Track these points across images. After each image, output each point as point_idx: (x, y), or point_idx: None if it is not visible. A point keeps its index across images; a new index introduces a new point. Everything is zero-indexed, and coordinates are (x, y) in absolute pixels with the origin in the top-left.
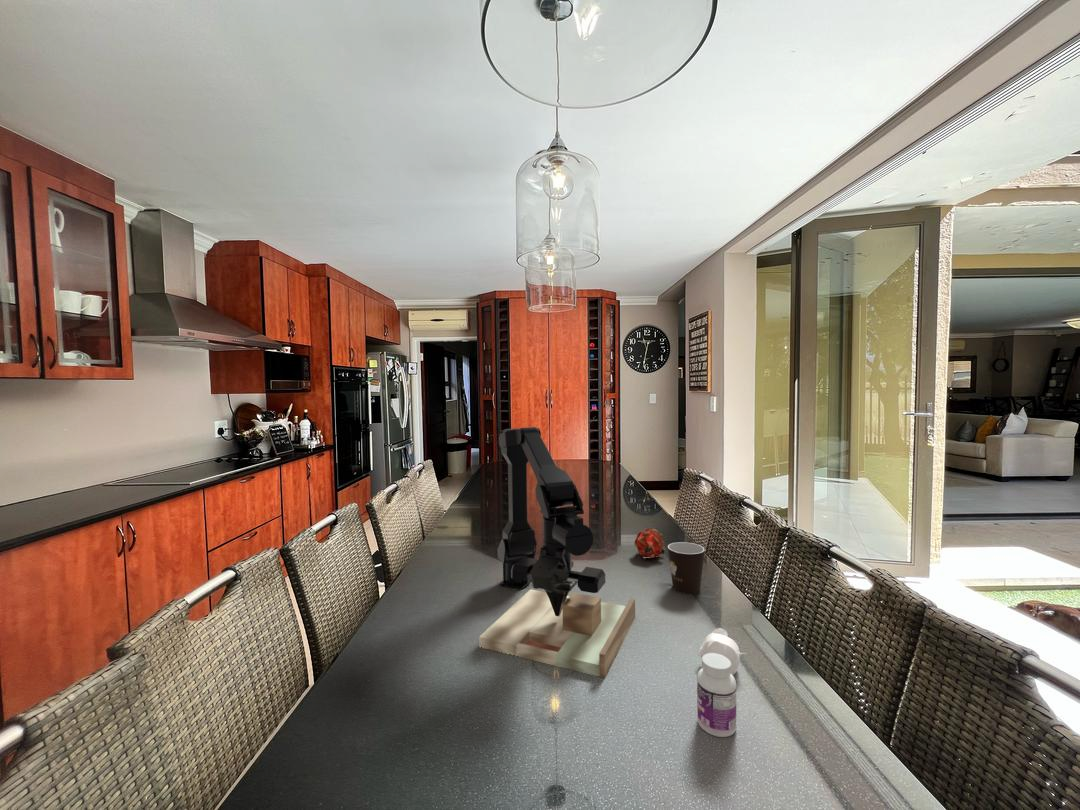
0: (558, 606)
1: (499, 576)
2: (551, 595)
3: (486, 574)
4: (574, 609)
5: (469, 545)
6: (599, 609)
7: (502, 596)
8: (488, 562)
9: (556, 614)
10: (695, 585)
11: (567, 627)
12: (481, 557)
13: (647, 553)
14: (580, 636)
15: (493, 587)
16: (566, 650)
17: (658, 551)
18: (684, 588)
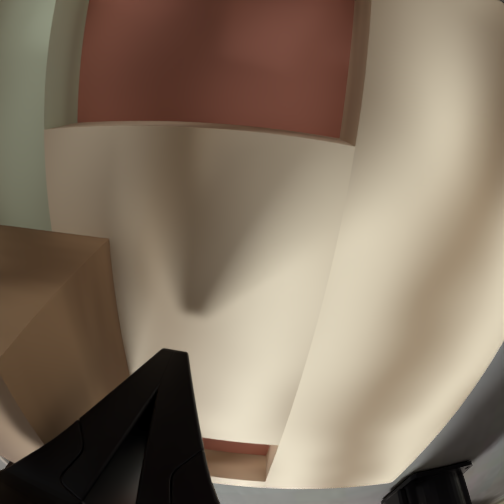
0: (126, 400)
1: (464, 478)
2: (162, 500)
3: (490, 469)
4: None
5: (494, 499)
6: None
7: (474, 430)
8: (475, 492)
9: (174, 356)
10: (6, 466)
11: (67, 244)
12: (484, 493)
13: None
14: (5, 198)
15: (488, 446)
16: (23, 21)
17: None
18: None
